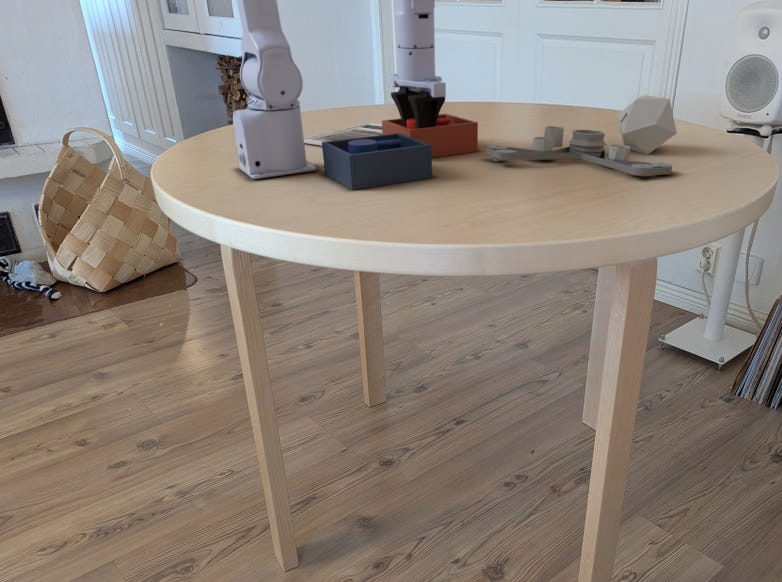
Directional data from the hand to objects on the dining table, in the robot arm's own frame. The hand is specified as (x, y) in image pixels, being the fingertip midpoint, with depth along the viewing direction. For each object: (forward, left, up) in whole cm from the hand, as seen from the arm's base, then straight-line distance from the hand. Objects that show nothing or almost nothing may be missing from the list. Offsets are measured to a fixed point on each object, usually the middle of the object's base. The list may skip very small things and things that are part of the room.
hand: (419, 139), depth 107 cm
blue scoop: (-13, -11, -1) cm, 17 cm away
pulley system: (+17, -20, -2) cm, 26 cm away
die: (+31, -19, -2) cm, 36 cm away
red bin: (+2, 0, -2) cm, 3 cm away
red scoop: (+2, 0, -1) cm, 2 cm away
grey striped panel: (-4, +16, -2) cm, 17 cm away
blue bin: (-13, -11, -2) cm, 17 cm away
